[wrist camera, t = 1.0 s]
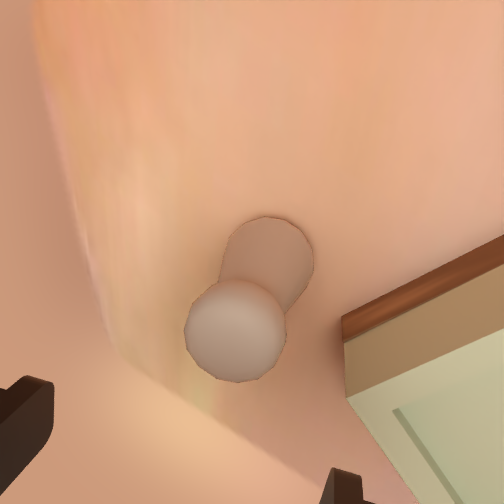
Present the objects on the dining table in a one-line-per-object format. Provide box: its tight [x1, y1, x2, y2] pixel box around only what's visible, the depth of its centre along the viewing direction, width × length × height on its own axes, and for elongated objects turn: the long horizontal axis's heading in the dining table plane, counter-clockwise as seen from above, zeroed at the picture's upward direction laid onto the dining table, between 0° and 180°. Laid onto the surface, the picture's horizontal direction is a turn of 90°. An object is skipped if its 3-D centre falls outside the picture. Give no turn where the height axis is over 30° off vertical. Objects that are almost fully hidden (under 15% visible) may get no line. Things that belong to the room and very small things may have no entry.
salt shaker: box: [184, 217, 314, 383], centre depth 22 cm, size 6×6×13 cm
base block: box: [342, 235, 504, 343], centre depth 27 cm, size 13×13×4 cm
